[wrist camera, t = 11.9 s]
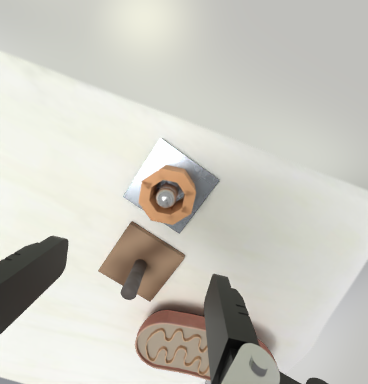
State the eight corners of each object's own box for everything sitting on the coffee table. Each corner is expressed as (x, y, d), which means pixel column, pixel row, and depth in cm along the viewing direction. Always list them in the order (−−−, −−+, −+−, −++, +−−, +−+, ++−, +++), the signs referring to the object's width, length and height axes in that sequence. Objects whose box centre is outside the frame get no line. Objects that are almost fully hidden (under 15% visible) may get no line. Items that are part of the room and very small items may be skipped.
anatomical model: (136, 330, 34) (128, 360, 29) (152, 286, 32) (146, 311, 27) (252, 365, 35) (263, 400, 30) (275, 325, 33) (290, 356, 28)
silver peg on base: (218, 178, 27) (229, 189, 20) (179, 230, 29) (176, 257, 22) (161, 138, 26) (150, 134, 19) (125, 195, 28) (103, 210, 21)
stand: (184, 254, 30) (183, 285, 23) (151, 297, 32) (141, 337, 25) (131, 221, 29) (114, 243, 22) (100, 267, 31) (76, 300, 24)
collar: (197, 171, 26) (199, 177, 21) (187, 214, 28) (187, 228, 23) (152, 161, 26) (144, 164, 21) (145, 205, 27) (135, 217, 22)
